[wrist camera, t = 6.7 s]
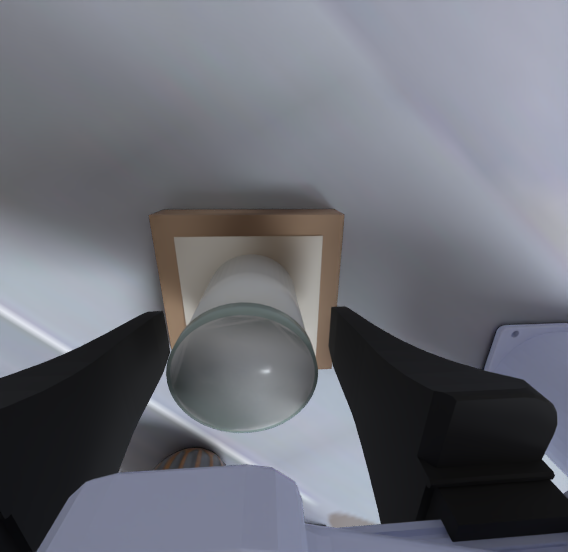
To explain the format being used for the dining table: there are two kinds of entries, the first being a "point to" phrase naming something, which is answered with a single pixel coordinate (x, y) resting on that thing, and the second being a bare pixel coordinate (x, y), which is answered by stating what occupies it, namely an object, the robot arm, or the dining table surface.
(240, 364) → the canister
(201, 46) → the dining table surface
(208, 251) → the base block
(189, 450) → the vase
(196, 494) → the robot arm
